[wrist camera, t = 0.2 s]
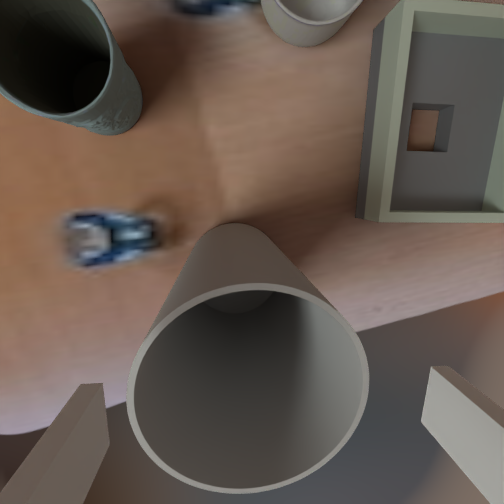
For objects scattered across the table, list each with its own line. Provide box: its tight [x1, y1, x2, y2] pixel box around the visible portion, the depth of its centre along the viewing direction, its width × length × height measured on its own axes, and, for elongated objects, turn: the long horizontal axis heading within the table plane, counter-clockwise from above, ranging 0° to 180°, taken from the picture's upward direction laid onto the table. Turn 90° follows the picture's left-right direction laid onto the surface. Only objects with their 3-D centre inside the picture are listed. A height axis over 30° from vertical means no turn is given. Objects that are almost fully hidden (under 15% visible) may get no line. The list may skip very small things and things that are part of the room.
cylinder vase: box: [126, 223, 369, 494], centre depth 26 cm, size 12×12×25 cm
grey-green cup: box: [0, 0, 143, 135], centre depth 26 cm, size 10×10×12 cm
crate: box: [355, 0, 504, 223], centre depth 34 cm, size 23×18×6 cm
